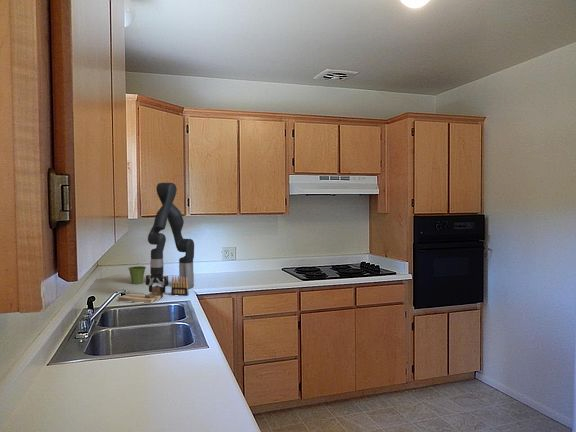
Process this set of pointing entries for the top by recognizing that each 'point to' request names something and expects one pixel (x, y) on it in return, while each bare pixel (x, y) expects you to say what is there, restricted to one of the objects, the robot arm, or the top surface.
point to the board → (138, 298)
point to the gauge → (155, 292)
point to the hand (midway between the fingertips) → (157, 292)
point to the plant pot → (137, 274)
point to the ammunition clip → (179, 287)
